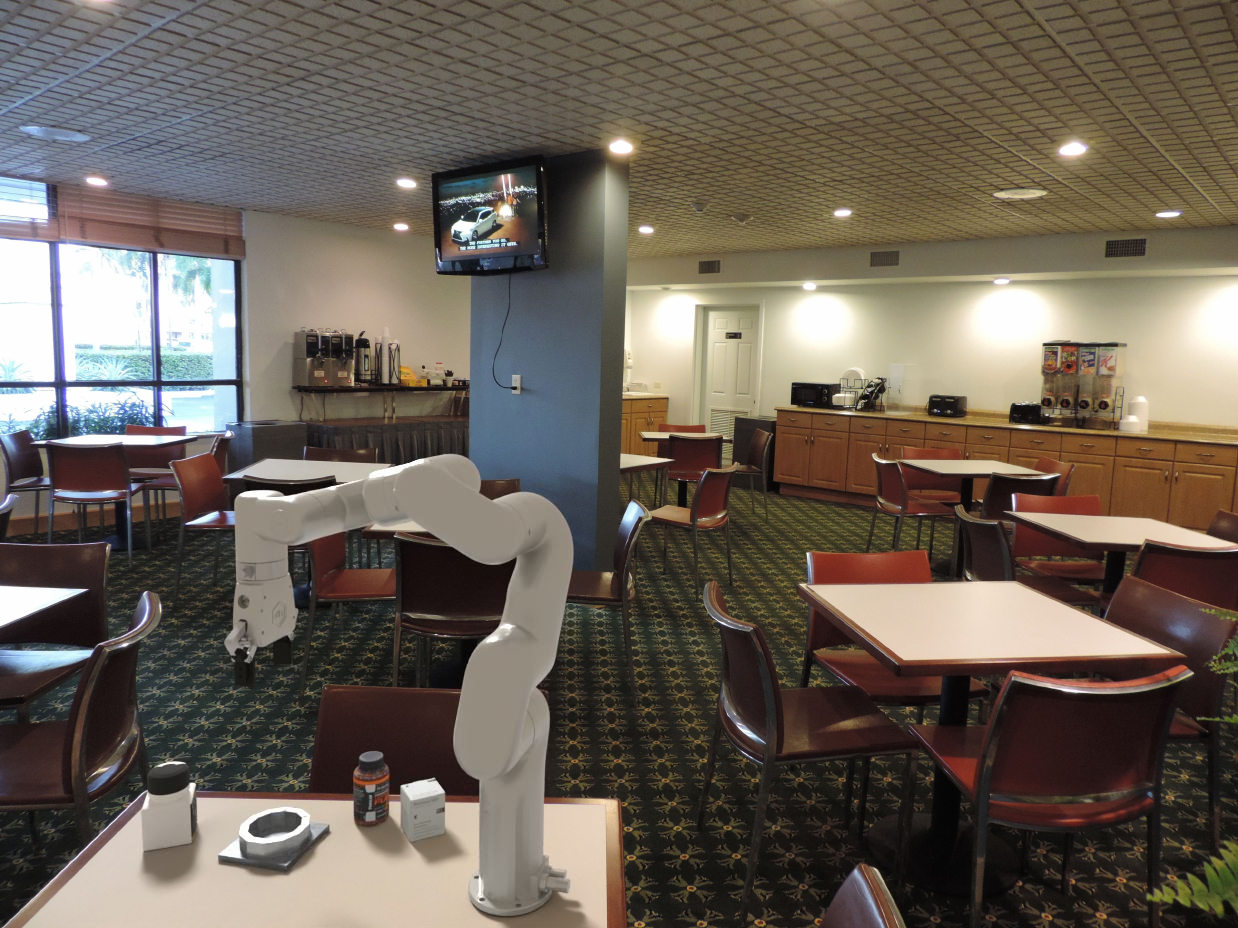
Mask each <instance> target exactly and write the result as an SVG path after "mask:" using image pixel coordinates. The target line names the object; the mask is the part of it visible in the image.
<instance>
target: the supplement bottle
mask: <svg viewBox="0 0 1238 928" xmlns="http://www.w3.org/2000/svg"><path fill="white" fill-rule="evenodd" d="M352 778H353V781H352V782H353V784H352V785H353V786H352V787H353V820H354V822H355V823H356V824H358V825H360V826H365V827H372V826H373V827H374V826H377V825H379V824H382V823H383V822H385V821H386V820H387V819H388V818H389V816H390V768H389V766H388V765H387V764H386V763H385V761H384V754H383V752H381V751H378V750H377V751H376V750H373V751H372V750H371V751H367V752H366V751H365V752H364V753H361V754H360V755H359V757H358V765H357V767H355V769H354V771H353V777H352Z"/></svg>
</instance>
